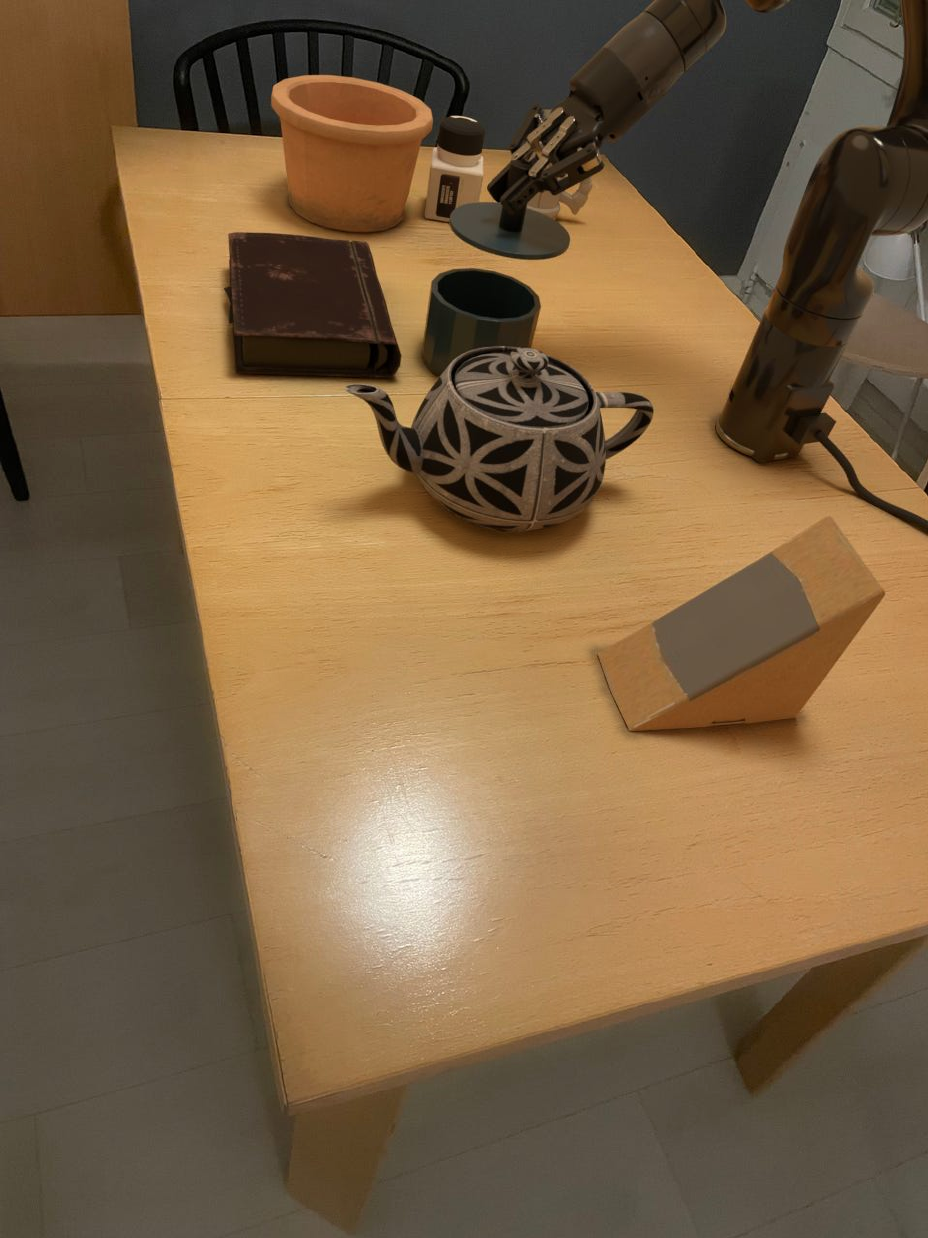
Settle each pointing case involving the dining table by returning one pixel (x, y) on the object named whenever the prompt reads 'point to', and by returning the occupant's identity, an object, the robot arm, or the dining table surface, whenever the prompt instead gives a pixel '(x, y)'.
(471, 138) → the container
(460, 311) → the pot
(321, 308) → the diary
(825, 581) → the sandwich container
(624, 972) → the dining table surface
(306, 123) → the pottery
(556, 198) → the mug
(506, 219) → the lid
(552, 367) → the teapot
